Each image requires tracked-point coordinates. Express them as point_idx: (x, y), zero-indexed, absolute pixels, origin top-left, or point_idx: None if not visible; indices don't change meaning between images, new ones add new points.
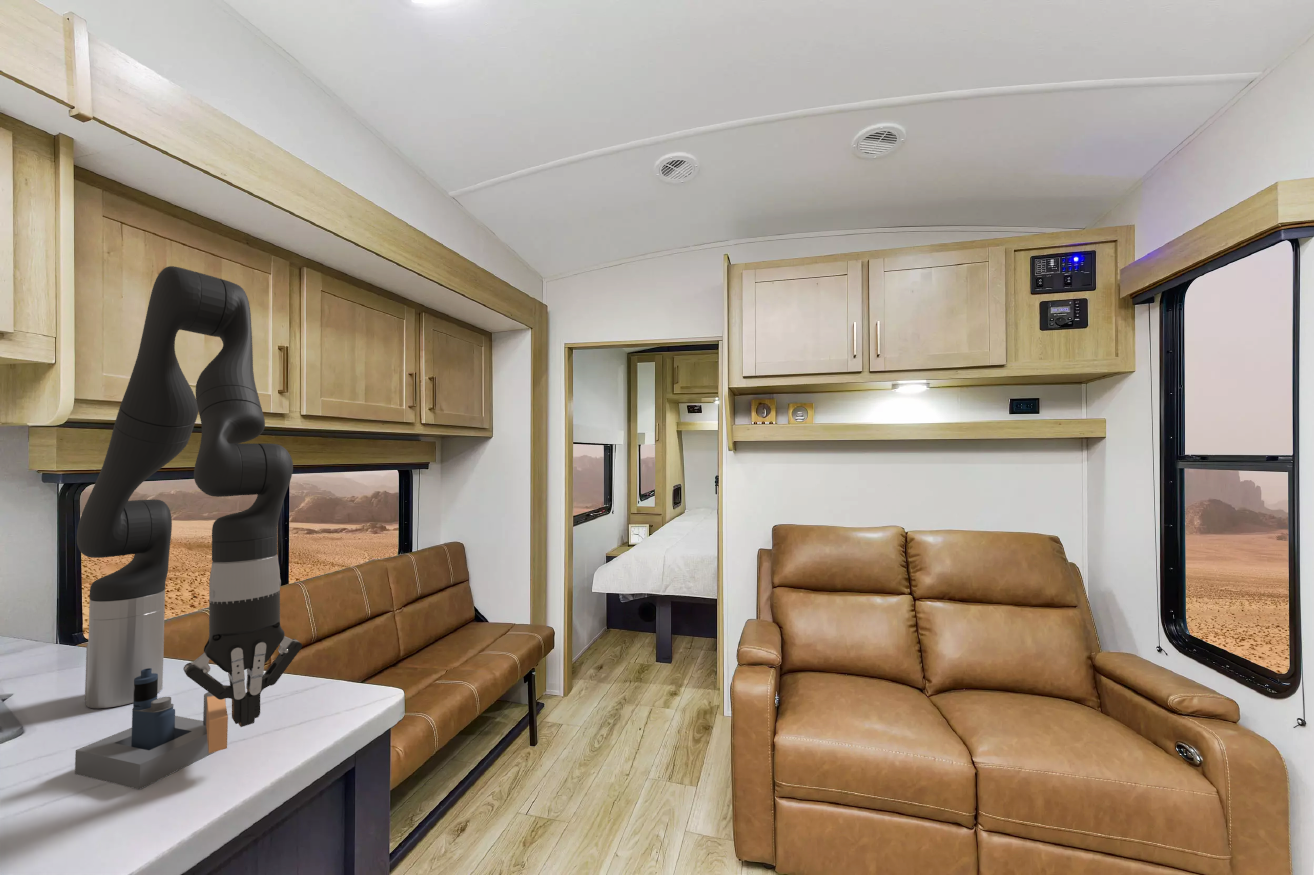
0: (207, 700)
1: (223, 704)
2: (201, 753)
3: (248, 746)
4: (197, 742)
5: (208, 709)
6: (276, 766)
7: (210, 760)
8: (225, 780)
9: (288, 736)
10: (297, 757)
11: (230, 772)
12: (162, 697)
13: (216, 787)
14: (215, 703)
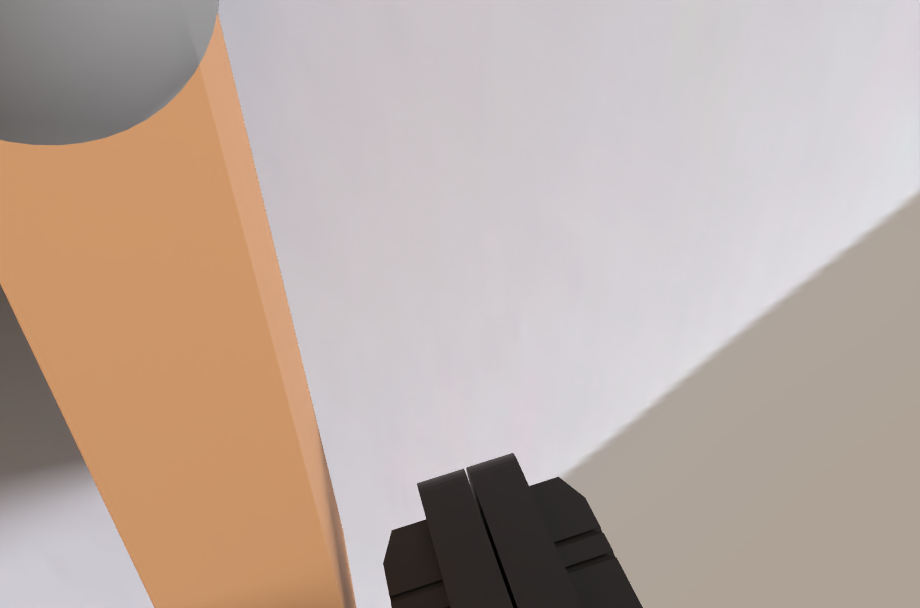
0: (16, 316)
1: (298, 530)
2: None
3: (409, 52)
4: None
5: (152, 602)
6: (547, 407)
7: None
8: (322, 439)
9: (657, 45)
10: (643, 362)
11: (335, 370)
12: None
13: None
14: (188, 470)
